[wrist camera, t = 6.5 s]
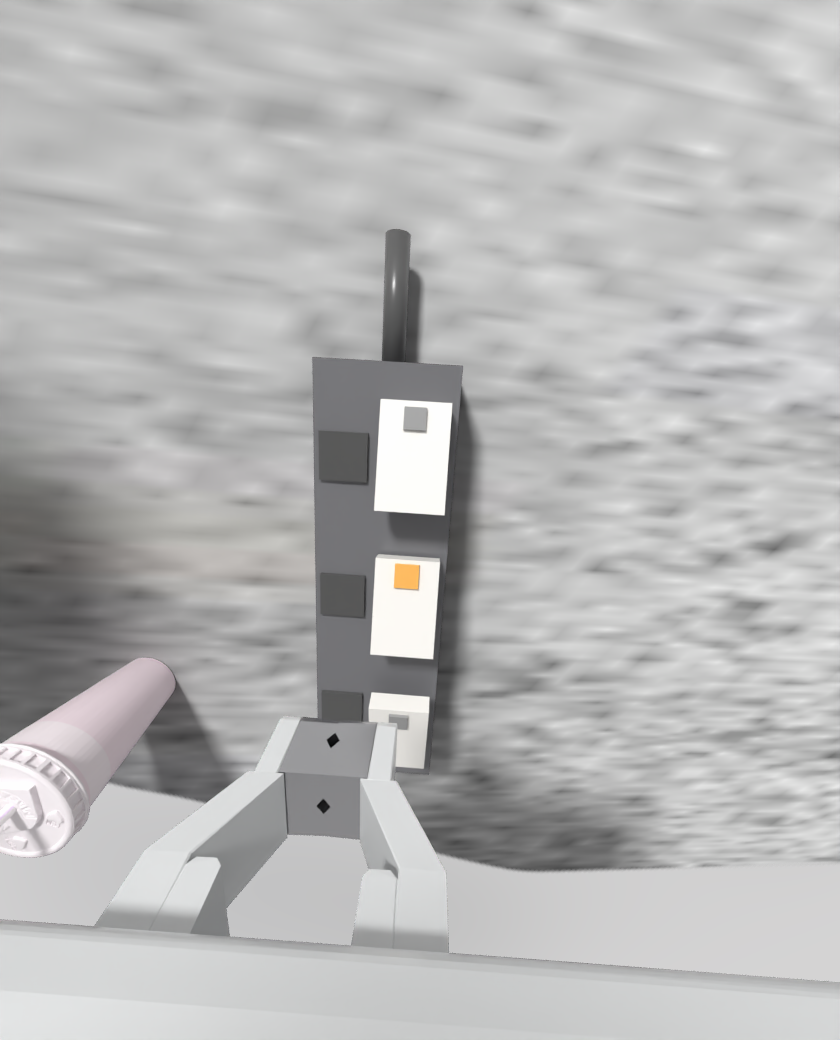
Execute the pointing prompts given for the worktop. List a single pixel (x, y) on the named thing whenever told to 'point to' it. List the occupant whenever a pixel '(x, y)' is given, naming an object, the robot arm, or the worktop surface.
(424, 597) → the rocker
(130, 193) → the worktop surface
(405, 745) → the block
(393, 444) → the plate
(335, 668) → the power strip
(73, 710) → the smoothie
